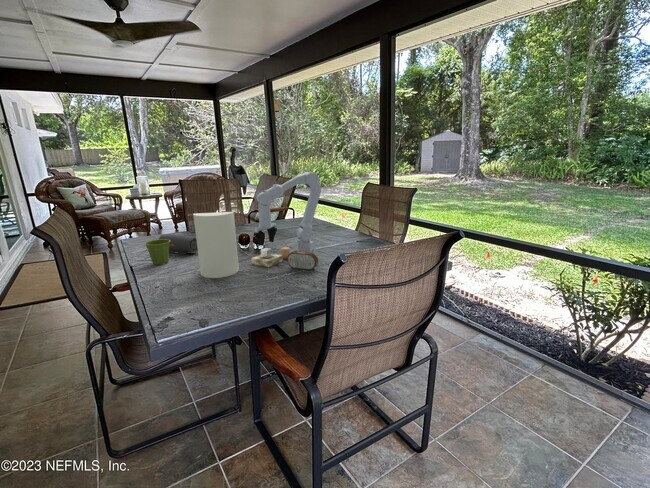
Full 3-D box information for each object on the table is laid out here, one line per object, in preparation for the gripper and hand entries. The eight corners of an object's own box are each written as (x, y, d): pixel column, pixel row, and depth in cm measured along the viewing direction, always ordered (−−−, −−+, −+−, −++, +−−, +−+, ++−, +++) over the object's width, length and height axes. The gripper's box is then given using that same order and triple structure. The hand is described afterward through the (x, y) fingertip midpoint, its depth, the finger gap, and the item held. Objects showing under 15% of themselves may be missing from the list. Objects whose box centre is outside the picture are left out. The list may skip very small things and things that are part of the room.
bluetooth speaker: (158, 252, 189) (155, 235, 187) (171, 248, 198) (168, 232, 195) (189, 256, 181) (187, 239, 178) (201, 252, 189) (199, 235, 187)
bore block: (282, 261, 171) (282, 255, 170) (268, 267, 162) (268, 261, 161) (266, 257, 176) (266, 252, 176) (251, 263, 167) (251, 258, 167)
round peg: (292, 257, 178) (291, 248, 176) (286, 259, 173) (285, 250, 172) (284, 255, 180) (284, 246, 179) (278, 258, 176) (278, 249, 175)
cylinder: (237, 276, 151) (231, 215, 143) (197, 279, 148) (189, 216, 141) (240, 264, 167) (235, 208, 160) (204, 266, 164) (197, 210, 157)
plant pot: (178, 261, 174) (175, 240, 171) (159, 268, 164) (155, 245, 161) (162, 258, 179) (159, 238, 176) (142, 265, 169) (138, 243, 166)
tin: (318, 269, 158) (318, 252, 156) (316, 271, 156) (315, 254, 153) (289, 266, 163) (288, 249, 161) (286, 268, 160) (285, 251, 158)
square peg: (272, 261, 170) (272, 248, 168) (267, 264, 167) (266, 250, 165) (266, 260, 172) (265, 247, 170) (261, 263, 169) (260, 249, 167)
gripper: (268, 214, 173) (269, 239, 176) (248, 218, 161) (250, 246, 164) (278, 215, 169) (280, 241, 173) (259, 220, 157) (261, 247, 161)
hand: (266, 243), depth 168 cm, fingers open, 7 cm apart
